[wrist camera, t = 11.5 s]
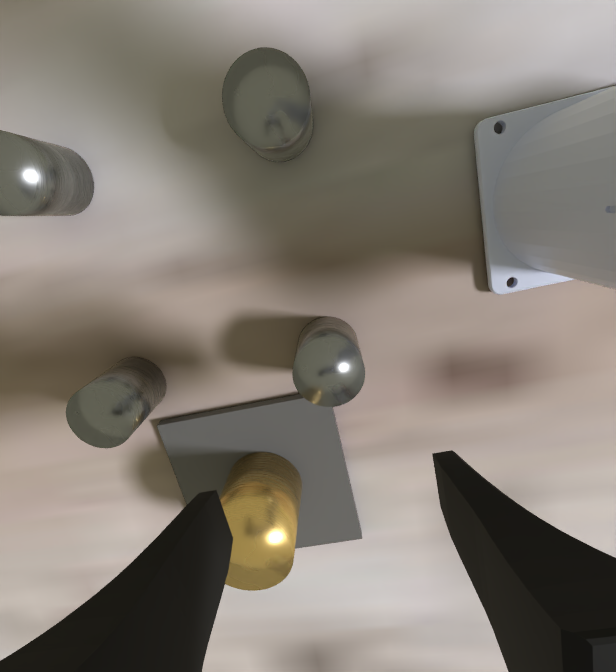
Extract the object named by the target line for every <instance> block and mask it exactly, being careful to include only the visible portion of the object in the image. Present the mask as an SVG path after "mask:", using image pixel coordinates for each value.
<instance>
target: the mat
mask: <svg viewBox="0 0 616 672" xmlns="http://www.w3.org/2000/svg"><path fill="white" fill-rule="evenodd" d="M157 428H158V430H159V433H160V435H161V438H162V441H163V443H164V446H165V449H166V451H167V454H168V457H169V459H170V462H171V465H172V467H173V470H174V472H175V475H176V478H177V480H178V483H179V486H180V488H181V491H182V494H183V496H184V499H185V501H186V504H187V505H188V504H189V503H190V501H191V500H192V499H193V498H194V497H195V496H196V495H198V494H199V493H201V492H207V491H213V490H217V493H218V496H219V497H220V495H221V493H222V490H223V488H224V485H225V483H226V480H227V478H228V475H229V473H230V471H231V469H232V467H233V465H234V464H235V463H236V462H237V461H238V460H239V459H241V458H242V457H244V456H246V455H248V454H252V453H257V452H268V453H273V454H276V455H279V456H281V457H283V458H285V459H287V460H288V461H289V462H291V463H292V464H293V465H294V467H295V468H296V469H297V471H298V472H299V474H300V477H301V480H302V494H301V502H300V510H299V518H298V527H297V535H296V543H295V548H302V547H309V546H316V545H322V544H329V543H336V542H343V541H349V540H356V539H362V533H361V528H360V523H359V519H358V515H357V510H356V506H355V502H354V497H353V493H352V489H351V484H350V480H349V476H348V471H347V467H346V463H345V458H344V454H343V450H342V445H341V441H340V437H339V432H338V428H337V424H336V419H335V415H334V411H333V407H323V406H318V405H315V404H313V403H311V402H309V401H308V400H306V399H305V398H304V397H303V396H302V395H301V394H298V395H293V396H288V397H282V398H277V399H272V400H267V401H261V402H256V403H251V404H246V405H240V406H235V407H230V408H224V409H219V410H214V411H209V412H203V413H198V414H193V415H188V416H182V417H177V418H172V419H166V420H161V421H160V422H159V424H158V425H157Z"/></svg>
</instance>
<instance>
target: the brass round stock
mask: <svg viewBox="0 0 616 672" xmlns="http://www.w3.org/2000/svg"><path fill="white" fill-rule="evenodd" d="M301 494H302V480H301V477H300V474H299V472H298V471H297V469H296V468H295V467H294V465H293V464H292V463H291V462H289V461H288V460H287V459H285V458H283V457H281V456H279V455H276V454H273V453H268V452H257V453H252V454H248V455H246V456H244V457H242V458H241V459H239V460H238V461H237V462H236V463H235V464H234V465H233V467H232V469H231V471H230V473H229V475H228V478H227V480H226V483H225V485H224V488H223V490H222V493H221V495H220V497H219V499H220V501H221V504H222V507H223V510H224V513H225V516H226V519H227V522H228V524H229V527H230V530H231V533H232V536H233V544H232V551H231V558H230V564H229V570H228V574H227V578H226V581H225V584H227V585H229V586H231V587H234V588H237V589H242V590H263V589H267V588H270V587H273V586H275V585H277V584H278V583H280V582H281V581H282V580H284V579H285V578H286V576H287V575H288V574H289V572H290V570H291V568H292V565H293V559H294V551H295V543H296V535H297V527H298V518H299V510H300V502H301Z"/></svg>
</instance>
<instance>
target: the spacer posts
mask: <svg viewBox="0 0 616 672" xmlns="http://www.w3.org/2000/svg"><path fill="white" fill-rule="evenodd" d="M222 102H223V108H224V112H225V115H226V118H227V120H228V123H229V124H230V126H231V128H232V129H233V130H234V131H235V133H236V134H237V135H238V136H239V137H240V138H241V139H242V140H244V141H245V142H246V143H247V144H248V145H249V146H250V147H251V148H252V149H253V150H254V151H255V152H257V153H258V154H259V155H260V156H262V157H263V158H265V159H268V160H270V161H275V162H283V161H288V160H291V159H293V158H295V157H296V156H298V155H299V154H300V153H301V152H302V151H303V150H304V149H305V148H306V146H307V145H308V143H309V141H310V138H311V135H312V131H313V116H312V107H311V99H310V92H309V86H308V82H307V79H306V77H305V74H304V72H303V71H302V69H301V67H300V66H299V65H298V63H297V62H296V61H295V60H294V59H293V58H292V57H290V56H289V55H288V54H286V53H284V52H282V51H280V50H277V49H274V48H257V49H253V50H250V51H248V52H246V53H245V54H243V55H242V56H240V57H239V58H238V59H237V60H236V61H235V62H234V63H233V65H232V66H231V67H230V69H229V71H228V73H227V75H226V78H225V81H224V85H223V91H222ZM93 193H94V182H93V177H92V174H91V171H90V169H89V167H88V165H87V164H86V162H85V161H84V160H83V159H82V158H81V157H80V156H79V155H78V154H77V153H75V152H74V151H72V150H71V149H68V148H66V147H62V146H59V145H55V144H51V143H47V142H43V141H40V140H36V139H32V138H28V137H25V136H21V135H17V134H13V133H9V132H6V131H2V130H0V215H2V216H71V215H75V214H78V213H80V212H82V211H83V210H85V209H86V208H87V206H88V205H89V204H90V202H91V200H92V197H93ZM292 373H293V381H294V384H295V387H296V389H297V390H298V392H299V393H300V394H301V395H302V396H303V397H304V398H305V399H306V400H308V401H309V402H311V403H313V404H315V405H318V406H323V407H334V406H339V405H342V404H345V403H347V402H349V401H350V400H352V399H353V398H354V397H355V396H356V395H357V394H358V393H359V391H360V390H361V388H362V386H363V383H364V379H365V368H364V364H363V360H362V356H361V352H360V348H359V344H358V341H357V337H356V334H355V332H354V330H353V329H352V328H351V326H350V325H349V324H347V323H346V322H345V321H343V320H341V319H338V318H335V317H321V318H318V319H315V320H313V321H312V322H310V323H309V324H308V325H307V326H306V327H305V328H304V329H303V331H302V332H301V335H300V337H299V341H298V346H297V351H296V356H295V360H294V365H293V372H292ZM165 393H166V381H165V378H164V375H163V374H162V372H161V371H160V369H159V368H158V367H157V366H156V365H155V364H153V363H152V362H150V361H148V360H146V359H143V358H138V357H131V358H126V359H124V360H122V361H120V362H118V363H117V364H116V365H114V366H113V367H111V368H110V369H109V370H107V371H106V372H104V373H103V374H102V375H100V376H99V377H97V378H96V379H95V380H93V381H92V382H90V383H89V384H88V385H86V386H85V387H83V388H82V389H80V390H79V391H78V392H76V393H75V394H74V395H73V396H72V397H71V398H70V400H69V401H68V404H67V408H66V417H67V421H68V424H69V426H70V428H71V429H72V431H73V432H74V433H75V435H76V436H77V437H78V438H80V439H81V440H82V441H84V442H85V443H87V444H89V445H92V446H95V447H99V448H113V447H116V446H119V445H121V444H122V443H124V442H125V441H126V440H127V439H128V438H129V437H130V436H131V435H132V433H133V432H134V431H135V430H136V429H137V428H138V427H139V426H140V424H141V423H142V422H143V421H144V420H145V419H146V418H147V417H148V415H149V414H150V413H151V412H152V411H153V410H154V409H155V407H156V406H157V405H158V404H159V403H160V402H161V401H162V399H163V398H164V396H165Z"/></svg>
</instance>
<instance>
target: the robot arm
mask: <svg viewBox="0 0 616 672" xmlns="http://www.w3.org/2000/svg"><path fill="white" fill-rule="evenodd" d="M496 123H500V124H501V125H502V132H501V133H500V134H497V133H496V132H495V131H494V125H495V124H496ZM474 141H475V151H476V162H477V172H478V183H479V193H480V204H481V214H482V225H483V235H484V246H485V256H486V267H487V277H488V286H489V289H490V290H491V291H492V292H493V293H496V294H506V293H511V292H516V291H521V290H526V289H531V288H535V287H540V286H545V285H550V284H555V283H560V282H565V281H570V280H574V279H576V280H580V281H584V282H588V283H592V284H596V285H600V286H604V287H608V288H612V289H616V86H612V87H608V88H604V89H600V90H596V91H592V92H588V93H584V94H580V95H576V96H573V97H569V98H565V99H561V100H557V101H553V102H549V103H545V104H541V105H537V106H533V107H529V108H525V109H521V110H517V111H513V112H509V113H505V114H501V115H497V116H493V117H489V118H486V119H484V120H482V121H480V122H479V123H478V124H477V125H476V127H475V130H474ZM511 277H513V279H514V283H513V284H512V285H511V286H507V284H506V283H507V280H508V279H509V278H511ZM433 461H434V467H435V474H436V480H437V486H438V493H439V499H440V506H441V509H442V512H443V515H444V518H445V521H446V524H447V527H448V530H449V533H450V536H451V538H452V540H453V543H454V545H455V547H456V549H457V551H458V553H459V556H460V558H461V560H462V562H463V564H464V566H465V569H466V571H467V573H468V575H469V577H470V579H471V581H472V583H473V586H474V588H475V590H476V592H477V594H478V596H479V598H480V601H481V603H482V605H483V607H484V609H485V611H486V614H487V616H488V618H489V621H490V623H491V626H492V628H493V631H494V633H495V636H496V639H497V641H498V644H499V647H500V650H501V652H502V655H503V658H504V660H505V663H506V666H507V669H508V671H509V672H616V558H615V557H612V556H610V555H608V554H606V553H604V552H602V551H599V550H597V549H595V548H593V547H591V546H589V545H587V544H585V543H583V542H581V541H579V540H577V539H575V538H573V537H571V536H570V535H568V534H566V533H564V532H562V531H560V530H559V529H557V528H555V527H553V526H552V525H550V524H548V523H547V522H545V521H543V520H542V519H540V518H538V517H537V516H535V515H534V514H532V513H531V512H529V511H528V510H526V509H525V508H523V507H522V506H520V505H519V504H518V503H516V502H515V501H513V500H512V499H510V498H509V497H508V496H506V495H505V494H504V493H502V492H501V491H500V490H499V489H497V488H496V487H495V486H493V485H492V484H491V483H490V482H488V481H487V480H486V479H485V478H483V477H482V476H481V475H480V474H479V473H477V472H476V471H475V470H474V469H473V468H472V467H471V466H469V465H468V464H467V463H466V462H465V461H464V460H463V459H462V458H461V457H459V456H458V455H457V454H456V453H455V452H453V451H446V452H440V453H434V454H433ZM232 544H233V536H232V533H231V530H230V527H229V524H228V522H227V519H226V516H225V513H224V510H223V507H222V504H221V501H220V499H219V496H218V493H217V490H213V491H207V492H201V493H199V494H198V495H196V496H195V497H194V498H193V499H192V500H191V501H190V503H189V504H188V505H187V506H186V507H185V508H184V509H183V510H182V511H181V512H180V513H179V514H178V515H177V516H176V518H175V519H174V520H173V521H172V522H171V523H170V524H169V525H168V526H167V527H166V528H165V529H164V530H163V531H162V533H161V534H160V535H159V536H158V537H157V538H156V539H155V540H154V541H153V542H152V543H151V544H150V545H149V546H148V547H147V548H146V549H145V550H144V551H143V552H142V553H141V554H140V555H139V556H138V557H137V558H136V559H135V560H134V561H133V562H132V563H131V564H130V565H129V566H127V567H126V568H125V569H124V570H123V571H122V572H121V573H120V574H119V575H118V576H117V577H115V578H114V579H113V580H112V581H111V582H110V583H108V584H107V585H106V586H105V587H104V588H103V589H101V590H100V591H99V592H98V593H97V594H95V595H94V596H93V597H92V598H90V599H89V600H88V601H86V602H85V603H84V604H82V605H81V606H80V607H79V608H77V609H76V610H75V611H73V612H72V613H71V614H69V615H68V616H67V617H66V618H64V619H63V620H62V621H60V622H59V623H57V624H56V625H55V626H53V627H52V628H50V629H49V630H47V631H46V632H44V633H43V634H42V635H40V636H39V637H37V638H36V639H34V640H33V641H31V642H30V643H28V644H27V645H25V646H24V647H22V648H20V649H19V650H17V651H16V652H14V653H13V654H11V655H9V656H8V657H6V658H4V659H3V660H1V661H0V672H202V667H203V662H204V658H205V654H206V650H207V645H208V642H209V638H210V635H211V631H212V628H213V624H214V621H215V617H216V614H217V610H218V606H219V603H220V599H221V596H222V592H223V589H224V585H225V581H226V578H227V574H228V570H229V564H230V558H231V551H232Z"/></svg>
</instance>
